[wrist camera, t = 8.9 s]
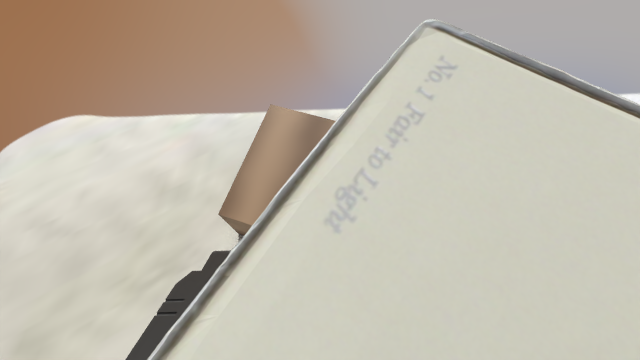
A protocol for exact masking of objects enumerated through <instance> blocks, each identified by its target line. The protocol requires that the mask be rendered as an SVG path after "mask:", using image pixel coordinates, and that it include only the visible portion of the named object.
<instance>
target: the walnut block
mask: <svg viewBox="0 0 640 360" xmlns="http://www.w3.org/2000/svg"><path fill="white" fill-rule="evenodd" d="M334 123H335V121H334V120H330V119H326V118H322V117H318V116H314V115H310V114H306V113H302V112H298V111H294V110H291V109H287V108H282V107H278V106H275V105H270V107H269V109H268V111H267V113H266V115H265V117H264V120H263V122H262V124H261V126H260V128H259V130H258V132H257V134H256V136H255V138H254V141H253V143H252V145H251V147H250V149H249V151H248V153H247V155H246V157H245V159H244V161H243V164H242V166H241V168H240V170H239V172H238V174H237V176H236V178H235V180H234V182H233V184H232V187H231V189H230V191H229V193H228V195H227V197H226V199H225V201H224V203H223V205H222V208H221V210H220V212H219V215H220V216H221V217H222V218H223V219H224V220H225V221H226V222H227V223H228V224H229V225H230V226H231V227H232V228H233V229H234V230H235V231H236V232H237V233H238V234H241V235H244V236H245V234H246V233H247V232H248V230H249V229H250V228H251V226H252V225H253V224H254V223H255V221H256V220H257V219H258V218H259V216H260V215H261V214H262V213H263V211H264V210H265V209H266V208H267V206H268V205H269V203H270V202H271V201H272V199H273V198H274V196H275V195H276V194H277V193H278V191H279V190H280V189H281V188H282V187H283V185H284V184H285V183H286V182H287V180H288V179H289V178H290V177H291V176H292V174H293V173H294V172H295V171H296V169H297V168H298V167H299V166H300V165H301V163H302V162H303V161H304V160H305V158H306V157H307V156H308V155H309V154H310V152H311V151H312V150H313V149H314V147H315V146H316V145H317V144H318V143H319V142H320V140H321V139H322V138H323V137H324V136H325V134H326V133H327V132H328V130H329V129H330V128H331V127H332V125H333V124H334Z"/></svg>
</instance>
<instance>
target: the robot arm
mask: <svg viewBox="0 0 640 360" xmlns="http://www.w3.org/2000/svg"><path fill="white" fill-rule="evenodd" d="M229 253H230V251H214V252H212V254H211V255H210V257H209V259H208V260H207V262H206V264H205V266H204V267H203V269H202V271H192V272H191V273H189V274H188V275H187V276H185V277H184V278H183V279H182V280H180V281H179V282H178V283H177V284H176V285H175V286H174V288H173V289H172V291H171V292H170V294H169V295H168V297H167V298H166V302H164V303H163V304H162V306H161V307H160V309H159V310H158V312H157V316H154V318H153V319H152V321H151V322H150V324H149V325H148V327H147V328H146V330H145V331H144V333H143V334H142V336H141V337H140V339H139V340H138V342H137V343H136V345H135V346H134V348H133V349H132V351H131V352H130V354H129V355H128V357H127V358H126V360H147V359H148V358H149V357H150V355H151V354H152V353H153V351H154V350H155V349H156V347H157V346H158V344H159V343H160V342H161V340H162V339H163V338H164V336H165V335H166V334H167V332H168V331H169V330H170V329H171V327H172V326H173V325H174V324H175V323H176V321H177V320H178V319H179V318H180V317H181V315H182V314H183V313H184V312H185V310H186V309H187V308H188V307H189V305H190V304H191V303H192V302H193V300H194V299H195V298H196V296H197V295H198V294H199V293H200V291H201V290H202V289H203V287H204V286H205V285H206V284H207V282H208V281H209V280H210V278H211V277H212V276H213V274H214V273H215V271H216V270H217V269H218V268H219V266H220V265H221V264H222V263H223V262H224V260H225V259H226V258H227V256H228V255H229Z"/></svg>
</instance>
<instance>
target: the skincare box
mask: <svg viewBox="0 0 640 360" xmlns="http://www.w3.org/2000/svg"><path fill="white" fill-rule="evenodd" d="M147 360H640V105H639V104H637V103H635V102H633V101H631V100H628V99H626V98H623V97H621V96H619V95H616V94H614V93H612V92H610V91H607V90H605V89H603V88H601V87H597V86H594V85H592V84H590V83H588V82H586V81H584V80H581V79H579V78H577V77H574V76H572V75H570V74H568V73H566V72H564V71H562V70H560V69H557V68H555V67H553V66H550V65H547V64H545V63H542V62H540V61H538V60H536V59H533V58H530V57H526V56H523V55H521V54H519V53H516V52H514V51H512V50H510V49H507V48H505V47H503V46H500V45H498V44H496V43H493V42H491V41H488V40H486V39H484V38H481V37H479V36H476V35H474V34H472V33H469V32H467V31H464V30H462V29H460V28H457V27H455V26H453V25H451V24H449V23H446V22H443V21H439V20H434V19H433V20H432V19H428V20H426V21H424V22H422V23H421V24H420V25H419V26H418V27H417V28H416V29H415V30H414V31H413V32H412V33H411V35H410V36H409V37H408V38H407V39H406V40H405V41H404V42H403V44H402V45H401V46H400V47H399V48H398V49H397V50H396V51H395V52H394V53H393V54H392V56H391V57H390V58H389V60H388V61H387V62H386V63H385V64H384V65H383V66H382V68H381V69H380V70H379V71H378V72H377V73H376V74H375V75H374V76H373V77H372V78H371V79H370V81H369V82H368V83H367V84H366V85H365V87H364V88H363V89H362V90H361V92H360V93H359V94H358V95H357V97H356V98H355V99H354V100H353V102H352V103H351V104H350V105H349V106H348V107H347V109H346V110H345V111H344V112H343V113H342V114H341V115H340V117H339V118H338V119H337V120H336V121H335V123H334V124H333V125H332V127H331V128H330V129H329V130H328V132H327V133H326V134H325V136H324V137H323V138H322V139H321V140H320V142H319V143H318V144H317V145H316V146H315V147H314V149H313V150H312V151H311V152H310V154H309V155H308V156H307V157H306V158H305V160H304V161H303V162H302V163H301V165H300V166H299V167H298V168H297V169H296V171H295V172H294V173H293V174H292V176H291V177H290V178H289V179H288V180H287V182H286V183H285V184H284V185H283V187H282V188H281V189H280V190H279V191H278V193H277V194H276V195H275V196H274V198H273V199H272V201H271V202H270V203H269V205H268V206H267V208H266V209H265V210H264V211H263V213H262V214H261V215H260V216H259V218H258V219H257V220H256V221H255V223H254V224H253V225H252V226H251V228H250V229H249V230H248V232H247V233H246V234H245V236H244V237H243V238H242V239H241V240H240V241H239V243H238V244H237V245H236V246H235V247H234V248H233V249H232V250H231V251H230V253H229V255H228V256H227V258H226V259H225V260H224V262H223V263H222V264H221V265H220V266H219V268H218V269H217V270H216V271H215V273H214V274H213V276H212V277H211V278H210V280H209V281H208V282H207V284H206V285H205V286H204V287H203V289H202V290H201V291H200V293H199V294H198V295H197V296H196V298H195V299H194V300H193V302H192V303H191V304H190V305H189V307H188V308H187V309H186V310H185V312H184V313H183V314H182V315H181V317H180V318H179V319H178V320H177V321H176V323H175V324H174V325H173V326H172V327H171V329H170V330H169V331H168V332H167V334H166V335H165V336H164V338H163V339H162V340H161V342H160V343H159V344H158V346H157V347H156V349H155V350H154V351H153V353H152V354H151V355H150V357H149V358H148V359H147Z"/></svg>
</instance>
